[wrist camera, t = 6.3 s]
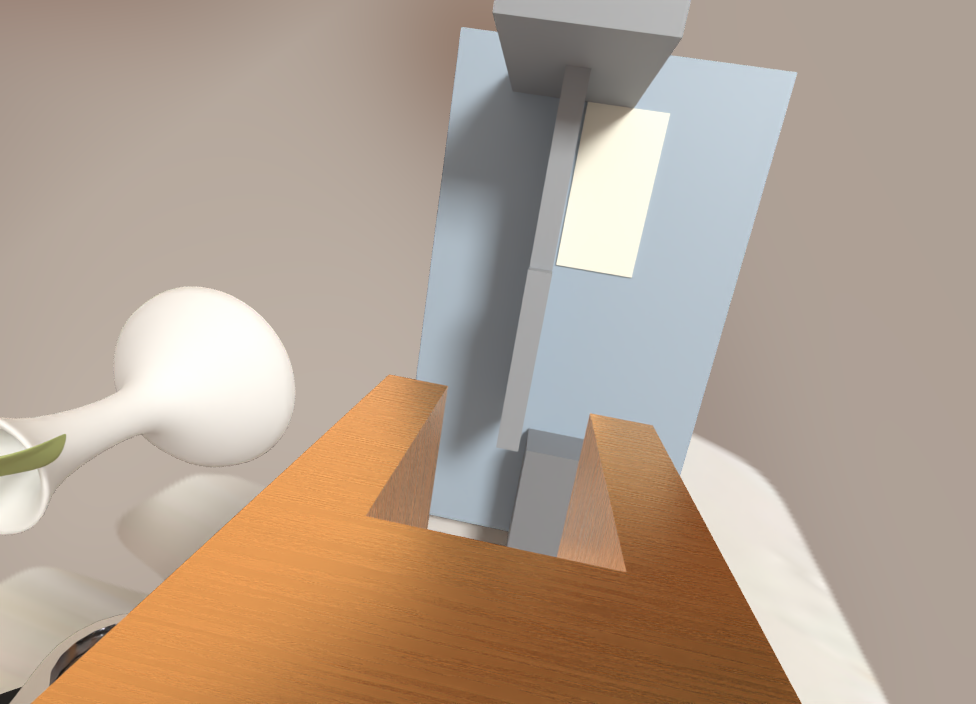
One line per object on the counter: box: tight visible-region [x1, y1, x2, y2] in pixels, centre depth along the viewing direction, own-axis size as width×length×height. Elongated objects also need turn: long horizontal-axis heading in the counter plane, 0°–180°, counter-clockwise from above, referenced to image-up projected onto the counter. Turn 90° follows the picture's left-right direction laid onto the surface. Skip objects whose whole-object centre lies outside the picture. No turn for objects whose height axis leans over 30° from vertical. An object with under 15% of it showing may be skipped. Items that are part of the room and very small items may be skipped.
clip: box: [31, 375, 801, 704], centre depth 7 cm, size 5×6×7 cm
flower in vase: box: [0, 286, 295, 535], centre depth 19 cm, size 13×11×25 cm
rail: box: [416, 0, 797, 557], centre depth 23 cm, size 16×27×10 cm, turn 171°
